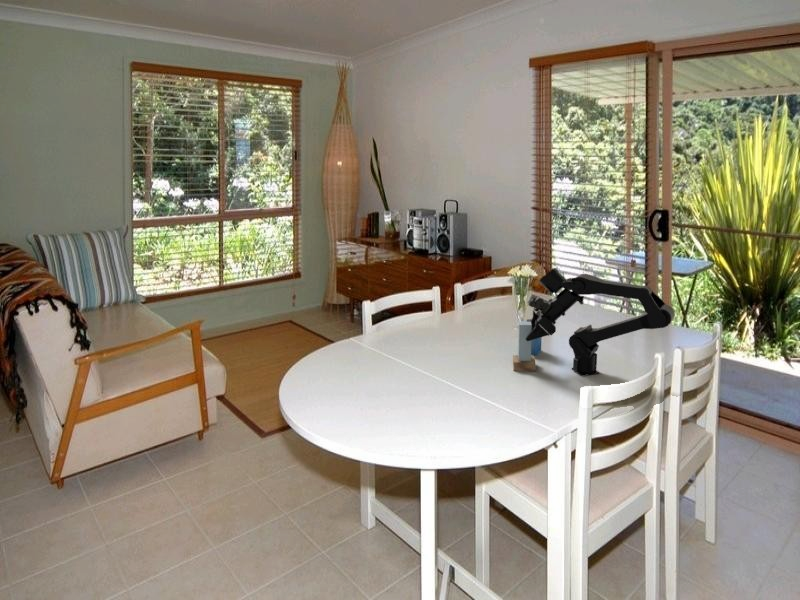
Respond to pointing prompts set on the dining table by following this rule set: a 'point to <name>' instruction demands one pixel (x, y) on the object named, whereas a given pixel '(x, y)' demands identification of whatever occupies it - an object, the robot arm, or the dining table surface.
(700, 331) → the dining table surface
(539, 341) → the perfume bottle
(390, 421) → the dining table surface
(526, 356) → the slate-blue post
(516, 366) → the walnut plinth
